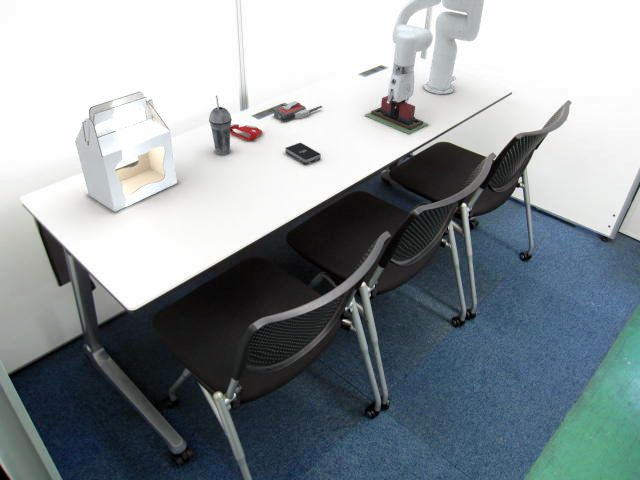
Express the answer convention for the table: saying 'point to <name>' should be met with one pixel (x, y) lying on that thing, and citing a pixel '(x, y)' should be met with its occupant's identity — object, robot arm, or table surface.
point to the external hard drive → (303, 153)
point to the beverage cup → (220, 129)
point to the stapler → (399, 111)
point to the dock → (396, 122)
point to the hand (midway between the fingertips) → (397, 115)
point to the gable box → (125, 153)
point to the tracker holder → (248, 129)
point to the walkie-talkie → (292, 111)
